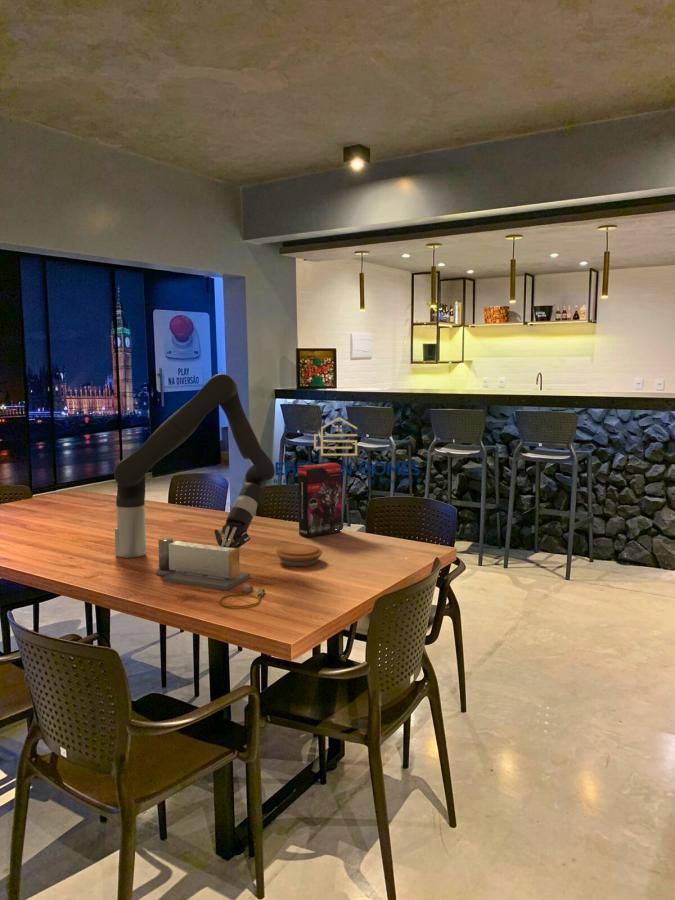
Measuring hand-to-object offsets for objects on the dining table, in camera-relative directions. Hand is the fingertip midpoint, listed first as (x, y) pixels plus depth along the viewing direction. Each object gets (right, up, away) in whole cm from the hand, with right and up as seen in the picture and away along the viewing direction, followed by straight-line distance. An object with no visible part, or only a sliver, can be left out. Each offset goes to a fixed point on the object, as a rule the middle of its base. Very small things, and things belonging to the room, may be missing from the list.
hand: (221, 558), depth 212 cm
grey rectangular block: (-7, -4, -3) cm, 8 cm away
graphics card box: (+29, +1, +55) cm, 62 cm away
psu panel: (-7, -5, -3) cm, 9 cm away
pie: (+23, -4, +15) cm, 28 cm away
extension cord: (+10, -8, -23) cm, 26 cm away
